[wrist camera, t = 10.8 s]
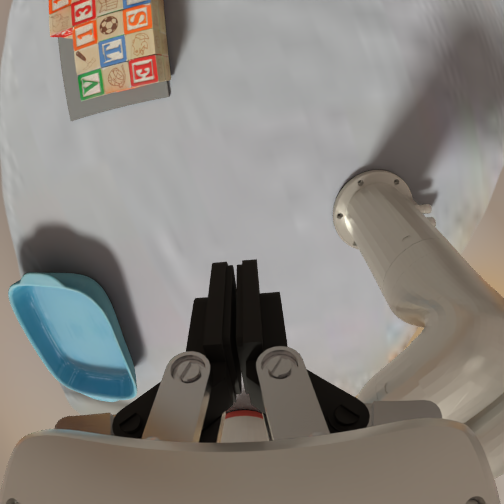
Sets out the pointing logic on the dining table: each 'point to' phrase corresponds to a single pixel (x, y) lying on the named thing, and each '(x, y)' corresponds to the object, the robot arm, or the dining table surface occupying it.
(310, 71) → the dining table surface
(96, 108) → the mat
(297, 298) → the dining table surface
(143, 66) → the stack of blocks
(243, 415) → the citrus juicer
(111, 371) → the casserole dish
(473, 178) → the dining table surface
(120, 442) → the robot arm
